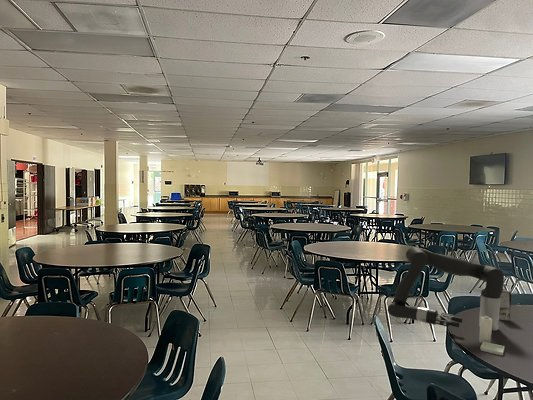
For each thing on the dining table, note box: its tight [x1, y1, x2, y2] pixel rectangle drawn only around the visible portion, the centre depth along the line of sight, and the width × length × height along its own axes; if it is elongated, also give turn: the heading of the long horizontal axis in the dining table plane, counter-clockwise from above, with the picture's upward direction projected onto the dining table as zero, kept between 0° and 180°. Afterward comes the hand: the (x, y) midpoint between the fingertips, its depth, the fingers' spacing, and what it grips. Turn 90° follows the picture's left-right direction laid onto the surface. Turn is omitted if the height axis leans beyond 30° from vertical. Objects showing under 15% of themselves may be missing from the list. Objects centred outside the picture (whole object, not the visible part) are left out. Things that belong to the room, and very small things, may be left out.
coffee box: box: [499, 288, 513, 321], centre depth 234 cm, size 9×6×16 cm
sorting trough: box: [479, 341, 506, 356], centre depth 186 cm, size 9×9×2 cm
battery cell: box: [478, 316, 492, 344], centre depth 195 cm, size 5×5×13 cm
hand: (460, 322), depth 201 cm, fingers open, 8 cm apart
